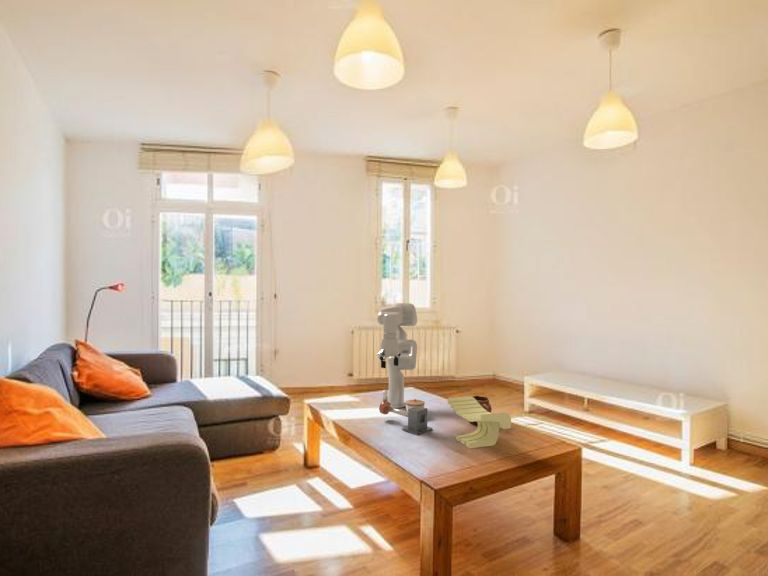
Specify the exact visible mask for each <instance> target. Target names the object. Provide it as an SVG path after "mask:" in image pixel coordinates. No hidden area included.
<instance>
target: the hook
mask: <svg viewBox="0 0 768 576" xmlns="http://www.w3.org/2000/svg"><path fill="white" fill-rule="evenodd" d="M388 394H389V389H388V390H387V389H383V391H382V401H381V402H380V404H379V408H378V410H379V413H380V414H382V415H388V414H389V413H390V412H391V413H393V414H398V415H400V416H403V417H407V418H408V412H407V410H406V411H405V410H402V409H399V408H392V407H391V404H390V403H389V402H387V396H388Z"/></svg>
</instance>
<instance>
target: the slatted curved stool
mask: <svg viewBox="0 0 768 576" xmlns="http://www.w3.org/2000/svg"><path fill="white" fill-rule="evenodd" d="M447 404H448V405H450V408H452V410H453V412H455V415H457V416H459V417H461V418H462V419H464V420H466V421H468V422H469V421H470V422H475V421H477V423H478V425H477V428H476V430H475V431H472V432H470V433H466V434H465V433H464V434H460V435H459V434H458V435H456V437H455V440H456V441H458V442H459V443H461V444H462V445H464V446H466V447H467V448H469V449H476V448H483V447H491V446H494V445H495V446H496V444H497V441H498V440H499V439H498V438H499V431H500V428H501V429H502V430H507V429H511V427H512V417H511V415H510V414H509V412H506V411H504V412H495V413H492V412H491V413H490V412H488V411H487V410H485V409H484V408H483V407H482V406H481V405H480V404H479V402H477V400H476V399H475V398H473V397H472V395H467V396H456V397H447Z"/></svg>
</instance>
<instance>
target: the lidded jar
mask: <svg viewBox="0 0 768 576" xmlns="http://www.w3.org/2000/svg"><path fill="white" fill-rule="evenodd" d="M425 402H426V401H424V400H420V399H416V398H414V399H408V400H406V401H405V403H406V406H405V410H406V412H408V409H410V408H414V407H417V406H420V407H424V408H425Z"/></svg>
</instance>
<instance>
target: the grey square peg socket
mask: <svg viewBox="0 0 768 576" xmlns="http://www.w3.org/2000/svg"><path fill="white" fill-rule="evenodd" d="M407 420H408V421H407V426H405V427H403V428H402V431H404V432H406V433H409V434H411V435H415V436H419V435H421V434H425V433H428V432H431V431H433V430H434V428H433V427H430V426H428V408H426V407H425V406H424V407H420V406H417V407H414V408H410V409H408V417H407Z"/></svg>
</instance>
